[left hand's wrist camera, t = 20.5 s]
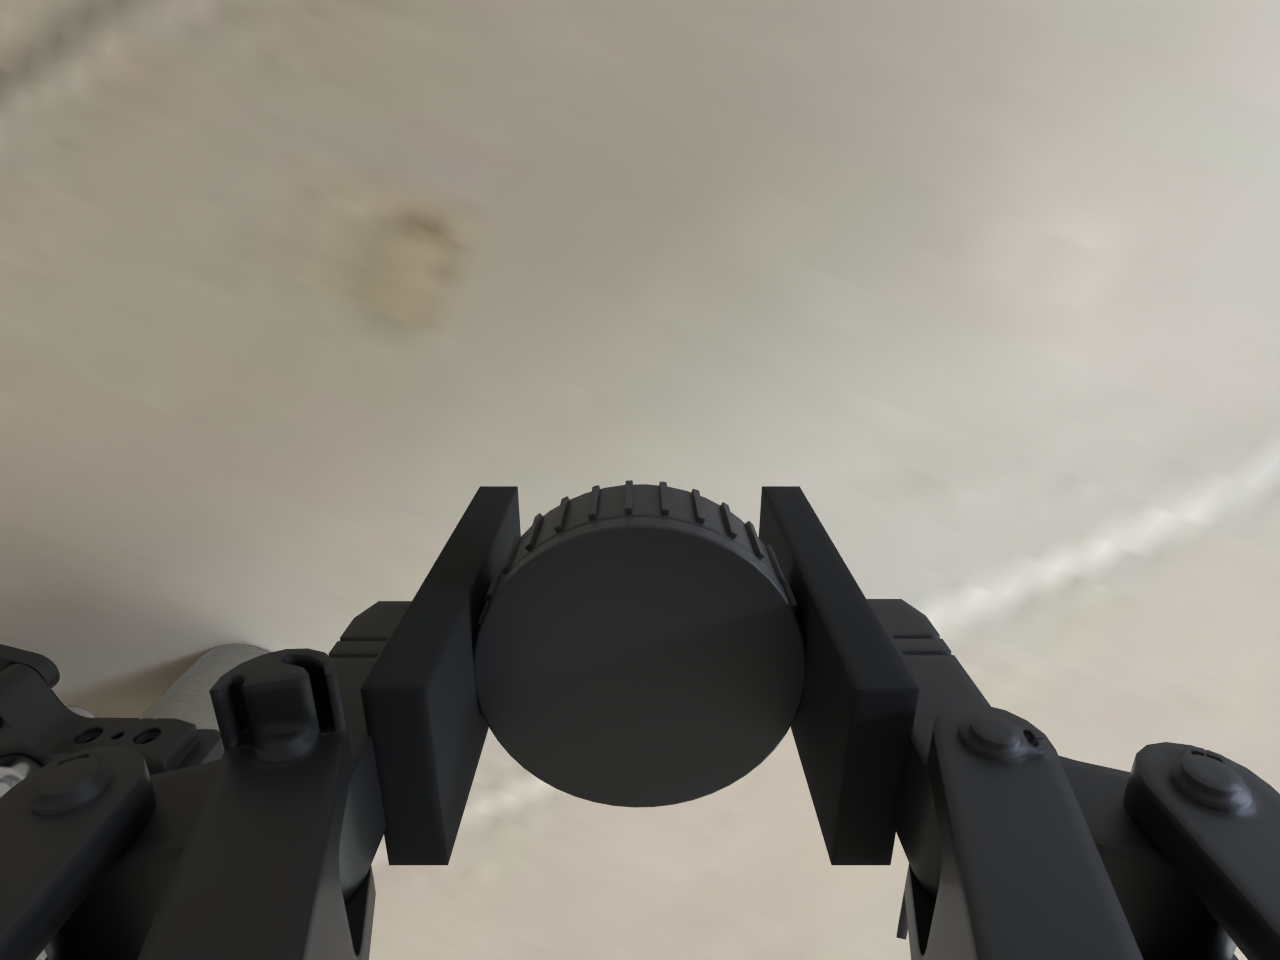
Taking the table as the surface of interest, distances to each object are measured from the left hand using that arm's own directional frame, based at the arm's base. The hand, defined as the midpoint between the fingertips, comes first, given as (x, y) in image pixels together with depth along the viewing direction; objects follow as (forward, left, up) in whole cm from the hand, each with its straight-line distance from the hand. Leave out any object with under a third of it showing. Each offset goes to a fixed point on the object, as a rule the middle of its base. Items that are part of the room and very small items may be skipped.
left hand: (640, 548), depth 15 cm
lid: (0, 0, +4) cm, 4 cm away
